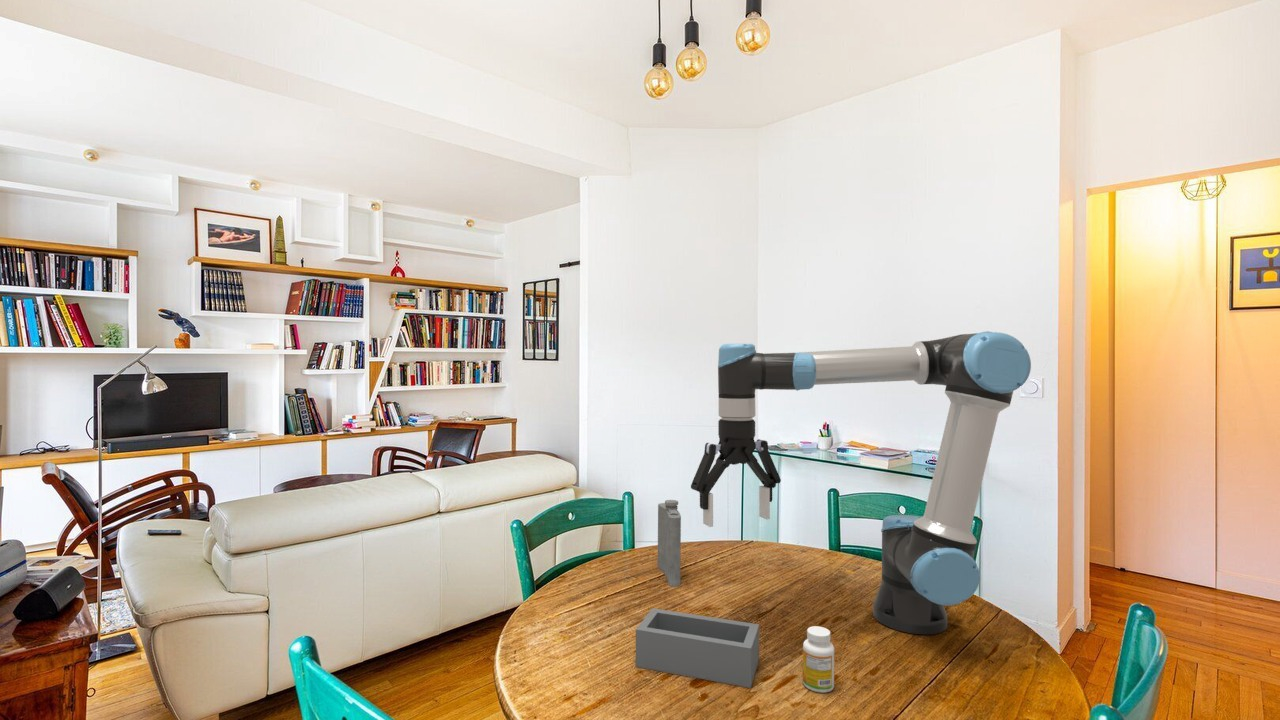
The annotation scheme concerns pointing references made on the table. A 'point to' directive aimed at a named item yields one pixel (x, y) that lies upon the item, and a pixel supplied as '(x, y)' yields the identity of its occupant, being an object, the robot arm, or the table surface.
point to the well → (698, 647)
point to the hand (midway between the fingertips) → (736, 521)
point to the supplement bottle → (818, 660)
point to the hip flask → (669, 541)
